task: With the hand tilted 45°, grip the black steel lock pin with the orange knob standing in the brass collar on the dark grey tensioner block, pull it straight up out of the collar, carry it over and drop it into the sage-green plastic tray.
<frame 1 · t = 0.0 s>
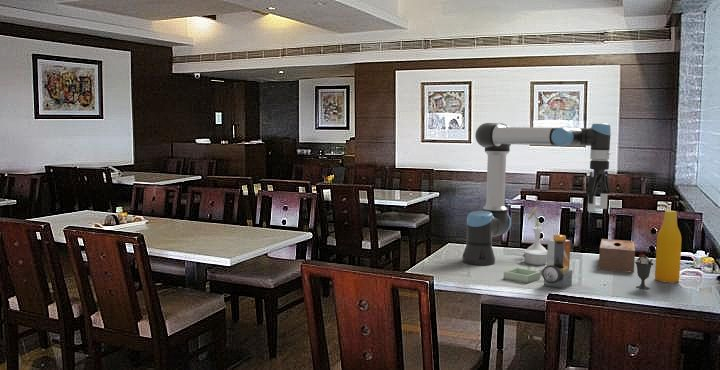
hand: (597, 210, 266), 28 cm above the table, tool pointing down, fingers open, 13 cm apart
lock pin: (558, 270, 248), point 6 cm above the table, touching tensioner block
flower in vase: (535, 256, 306), on the table
tray: (522, 278, 259), on the table
ramekin: (536, 263, 291), on the table
sundae: (642, 288, 246), on the table
tensioner block: (557, 285, 248), on the table
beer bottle: (666, 280, 259), on the table
tissue box cover: (616, 266, 288), on the table
small box: (558, 269, 279), on the table
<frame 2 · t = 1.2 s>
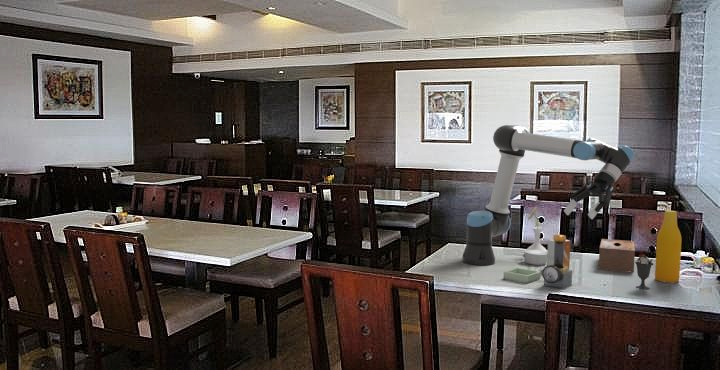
hand: (577, 215, 252), 28 cm above the table, tool tilted 45°, fingers open, 13 cm apart
nothing on the table moved.
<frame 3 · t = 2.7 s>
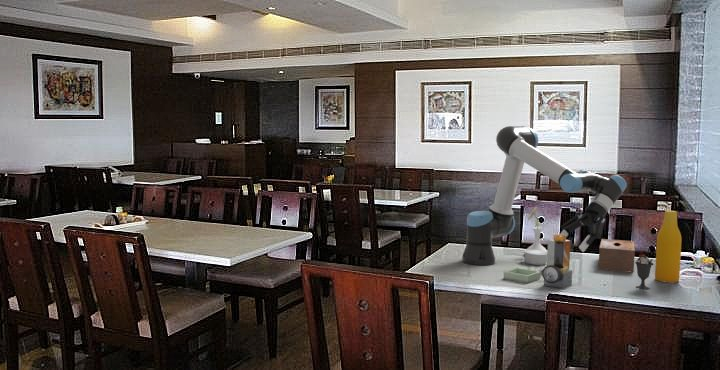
hand: (568, 246, 247), 16 cm above the table, tool tilted 45°, fingers open, 13 cm apart
nothing on the table moved.
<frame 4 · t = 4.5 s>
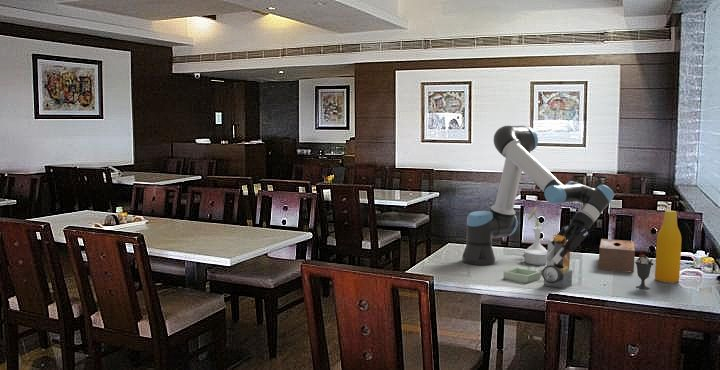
hand: (550, 260, 246), 10 cm above the table, tool tilted 45°, fingers closed on lock pin, 3 cm apart
lock pin: (558, 270, 248), point 6 cm above the table, touching gripper, tensioner block
everything else where it was.
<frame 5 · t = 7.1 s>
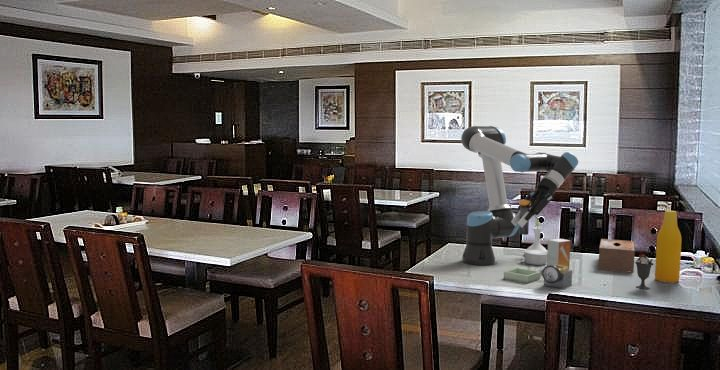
hand: (516, 224, 255), 23 cm above the table, tool tilted 45°, fingers closed on lock pin, 3 cm apart
lock pin: (523, 233, 257), point 19 cm above the table, touching gripper
everything else where it was.
when the fingers open (7 cm above the table, at t = 9.8 s): lock pin drops 2 cm, resting on tray.
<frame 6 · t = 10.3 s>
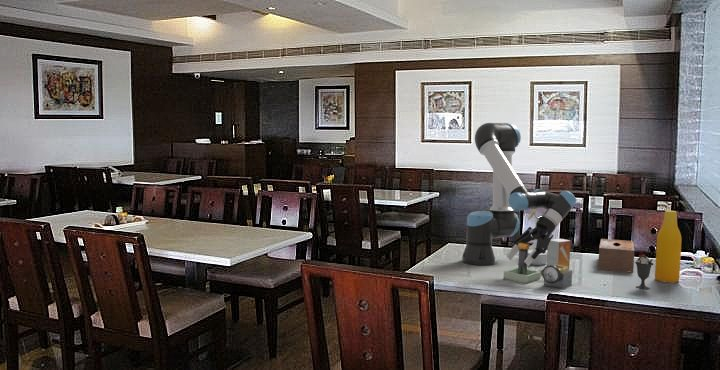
hand: (517, 260, 257), 8 cm above the table, tool tilted 45°, fingers open, 11 cm apart
lock pin: (522, 276, 259), point 1 cm above the table, touching tray
everything else where it was.
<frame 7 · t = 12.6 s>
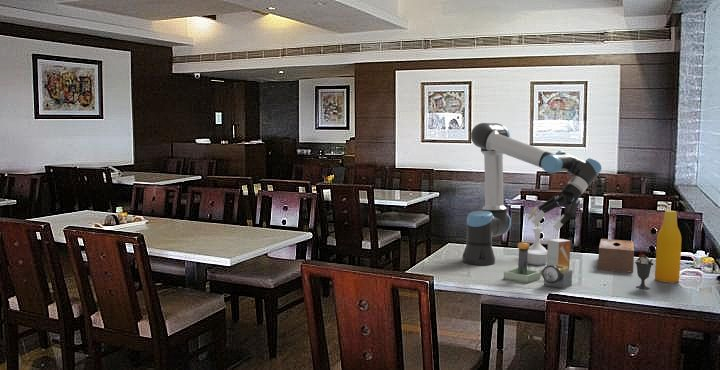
hand: (544, 225, 261), 22 cm above the table, tool tilted 45°, fingers open, 13 cm apart
nothing on the table moved.
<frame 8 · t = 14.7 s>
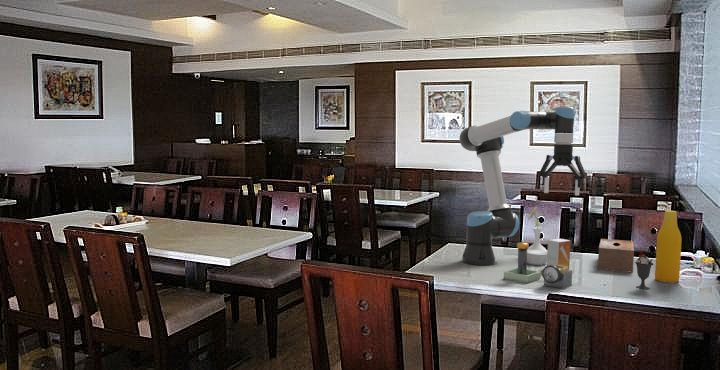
hand: (561, 194, 264), 35 cm above the table, tool pointing down, fingers open, 13 cm apart
nothing on the table moved.
at the end: lock pin inside the target area on the tray (0.0 cm from its centre), point 0.8 cm above the tray's base; the gripper is holding nothing; lock pin touching tray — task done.
